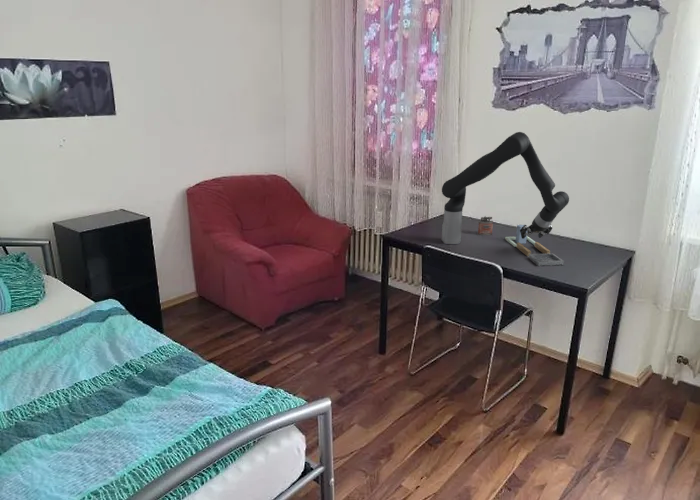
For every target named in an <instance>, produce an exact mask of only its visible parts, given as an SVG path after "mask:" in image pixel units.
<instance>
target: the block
mask: <svg viewBox="0 0 700 500" xmlns="http://www.w3.org/2000/svg"><path fill="white" fill-rule="evenodd" d="M524 225H525V224H517V225H516V234H515V237H516V240H515V243H516V244H517V243H521V244H522V245H524V244H527V236H528V235H526V237H525V238H524V239H522V237H521V232H520V230H521V228H522V227H523V226H524ZM526 233H527V231H526Z"/></svg>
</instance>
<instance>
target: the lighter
mask: <svg viewBox="0 0 700 500" xmlns="http://www.w3.org/2000/svg"><path fill="white" fill-rule="evenodd" d="M493 223H494V221H493V216H486V215H485V216H480V220H478V227H477V236H478V235H479V236H493V226H494V224H493Z"/></svg>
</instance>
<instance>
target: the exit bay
mask: <svg viewBox="0 0 700 500" xmlns="http://www.w3.org/2000/svg"><path fill="white" fill-rule="evenodd" d="M504 240H505V241H507V243H509V244H510V245H512V246H513V247H516V248H517V242H515V241H516V236H505V238H504ZM514 240H515V241H514ZM526 241H528V242H529V243H531V244H532V245H533V246H535V242H536V241H535V240H534V239H532V238H531V237H529V236H528V235H527V239H526Z"/></svg>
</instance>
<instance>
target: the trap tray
mask: <svg viewBox="0 0 700 500" xmlns="http://www.w3.org/2000/svg"><path fill="white" fill-rule="evenodd" d="M528 259H529V260H530V261H532V263H534V264H535V265H536V266H538V267H549V266H550V267H551V266H553V267H554V266H564V265H565V260H563V259H562V258H560V257H559V256H557V255H556V254H555V253H551V252H550V254H543V253H531V254H529V256H528Z"/></svg>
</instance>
